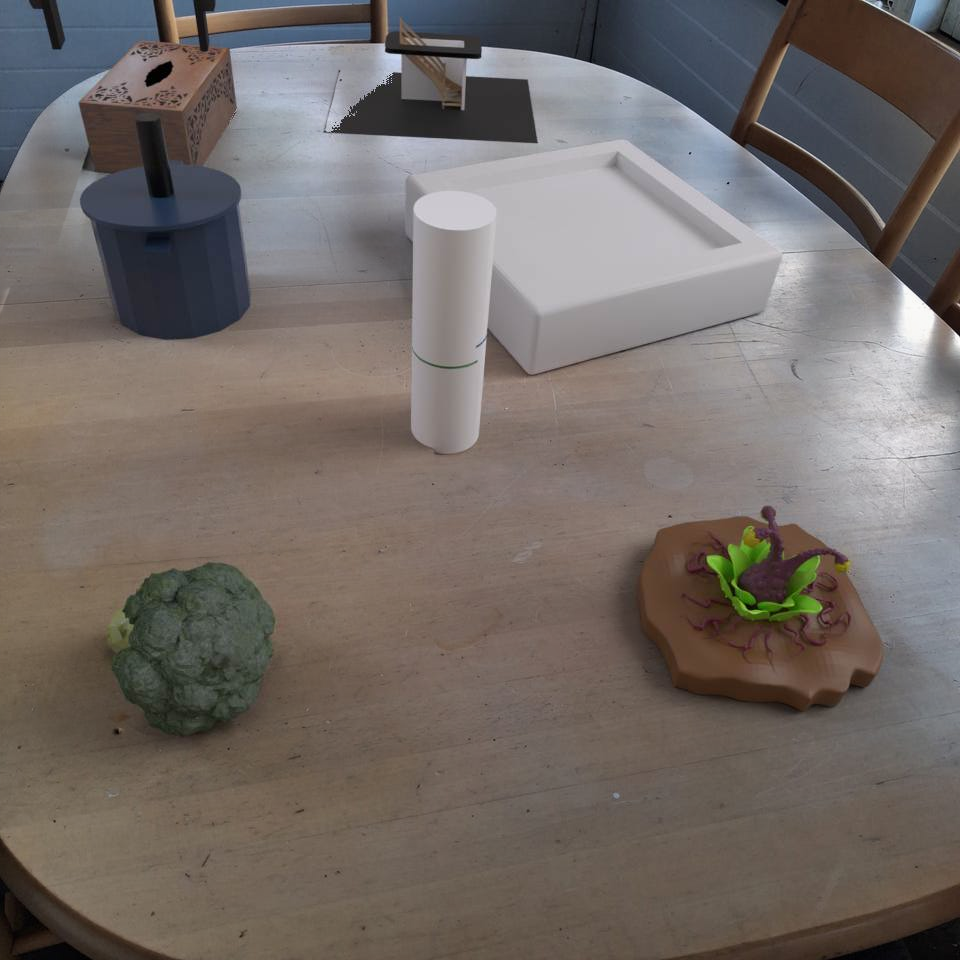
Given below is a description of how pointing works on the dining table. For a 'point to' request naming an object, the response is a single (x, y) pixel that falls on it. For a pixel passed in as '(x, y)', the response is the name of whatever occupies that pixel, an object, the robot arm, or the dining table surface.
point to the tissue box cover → (160, 103)
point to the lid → (159, 189)
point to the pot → (177, 277)
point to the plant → (756, 612)
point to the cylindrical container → (450, 316)
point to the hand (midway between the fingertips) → (133, 45)
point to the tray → (604, 252)
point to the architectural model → (442, 95)
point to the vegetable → (192, 647)
